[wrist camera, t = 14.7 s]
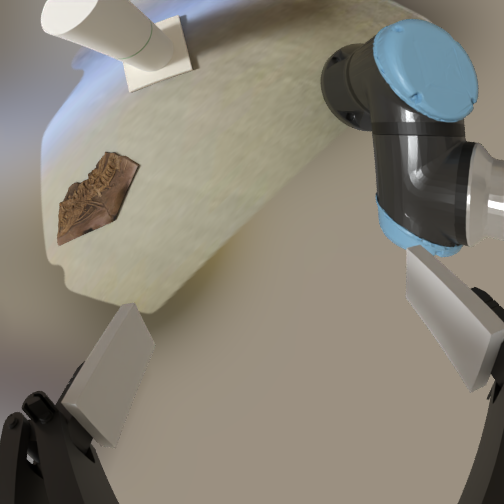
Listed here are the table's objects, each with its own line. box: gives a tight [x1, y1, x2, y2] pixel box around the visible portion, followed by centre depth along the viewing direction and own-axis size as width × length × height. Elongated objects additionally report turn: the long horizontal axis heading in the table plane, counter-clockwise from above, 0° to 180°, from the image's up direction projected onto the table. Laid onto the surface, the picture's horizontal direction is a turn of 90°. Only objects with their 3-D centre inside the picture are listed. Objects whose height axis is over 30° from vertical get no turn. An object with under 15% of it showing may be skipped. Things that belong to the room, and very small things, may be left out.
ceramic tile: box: [123, 15, 193, 93], centre depth 38 cm, size 11×11×1 cm
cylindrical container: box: [41, 0, 174, 72], centre depth 26 cm, size 7×7×25 cm
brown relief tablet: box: [57, 152, 139, 246], centre depth 49 cm, size 26×11×1 cm, turn 122°
